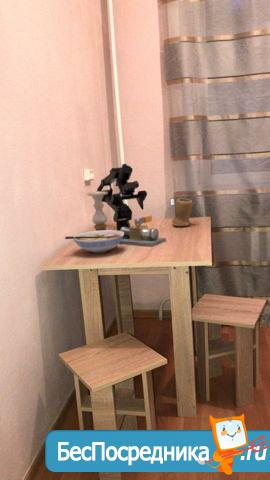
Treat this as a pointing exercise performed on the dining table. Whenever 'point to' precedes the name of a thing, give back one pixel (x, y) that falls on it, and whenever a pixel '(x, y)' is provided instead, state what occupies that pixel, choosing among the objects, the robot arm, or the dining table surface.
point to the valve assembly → (141, 236)
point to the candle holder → (98, 210)
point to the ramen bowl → (98, 240)
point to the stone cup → (182, 212)
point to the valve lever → (143, 220)
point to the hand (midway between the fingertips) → (134, 210)
